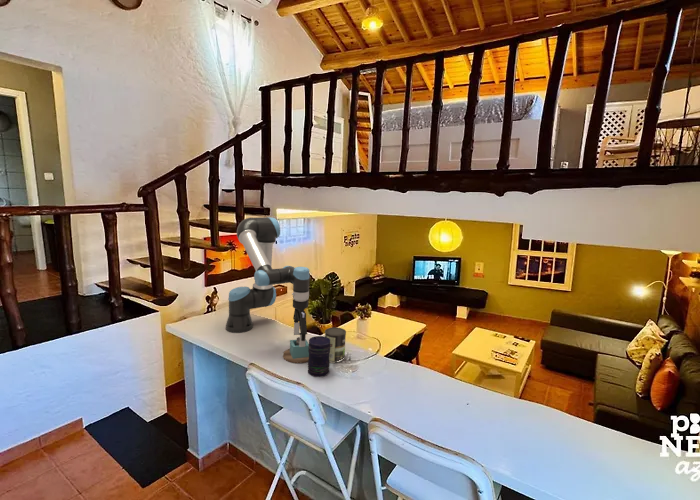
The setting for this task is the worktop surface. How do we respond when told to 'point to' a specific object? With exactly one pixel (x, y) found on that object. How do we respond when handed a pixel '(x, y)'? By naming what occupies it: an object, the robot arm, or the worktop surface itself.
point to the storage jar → (318, 356)
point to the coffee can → (336, 343)
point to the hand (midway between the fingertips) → (299, 340)
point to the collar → (298, 350)
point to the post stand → (289, 358)
